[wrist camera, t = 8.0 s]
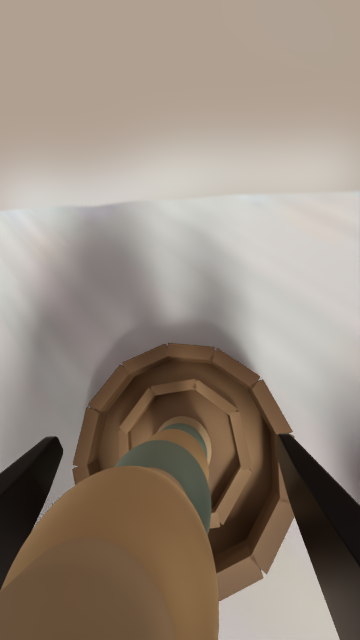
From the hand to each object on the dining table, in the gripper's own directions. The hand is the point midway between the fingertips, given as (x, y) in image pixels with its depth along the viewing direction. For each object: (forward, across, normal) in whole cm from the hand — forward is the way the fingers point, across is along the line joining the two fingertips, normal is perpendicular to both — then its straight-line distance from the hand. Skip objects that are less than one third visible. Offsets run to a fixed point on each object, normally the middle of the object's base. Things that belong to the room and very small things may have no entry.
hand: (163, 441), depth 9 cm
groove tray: (+5, 0, +7) cm, 8 cm away
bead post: (+4, 0, +6) cm, 8 cm away
